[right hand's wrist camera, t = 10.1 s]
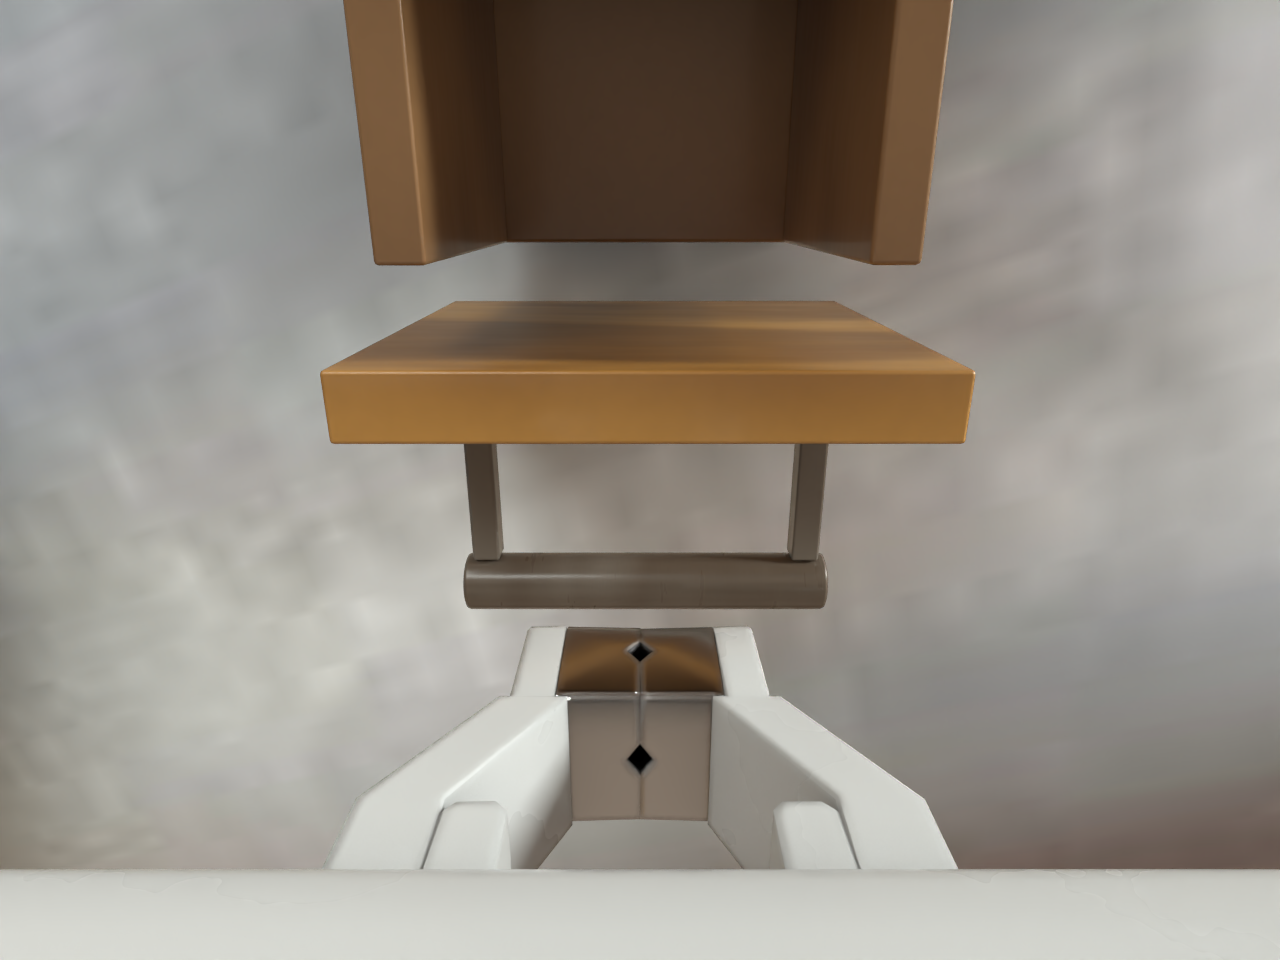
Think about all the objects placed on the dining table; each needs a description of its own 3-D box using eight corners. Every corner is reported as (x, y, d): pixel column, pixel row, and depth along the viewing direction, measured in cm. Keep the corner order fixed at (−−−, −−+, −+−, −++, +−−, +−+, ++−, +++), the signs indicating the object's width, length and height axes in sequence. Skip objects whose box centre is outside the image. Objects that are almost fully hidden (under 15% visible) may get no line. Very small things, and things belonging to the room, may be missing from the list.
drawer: (816, 519, 22) (924, 712, 14) (472, 519, 22) (369, 712, 14) (908, -523, 15) (1275, -1519, 6) (384, -522, 15) (32, -1516, 6)
